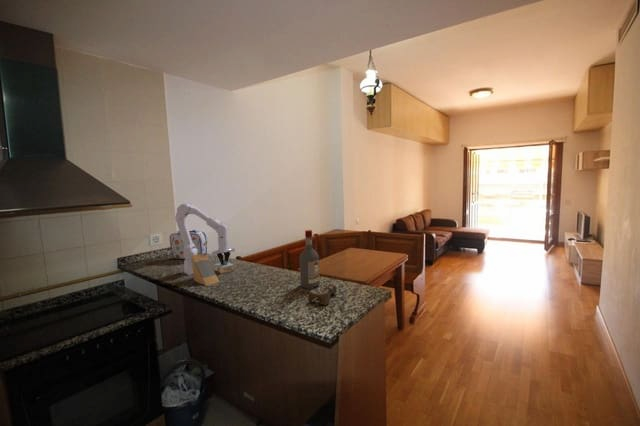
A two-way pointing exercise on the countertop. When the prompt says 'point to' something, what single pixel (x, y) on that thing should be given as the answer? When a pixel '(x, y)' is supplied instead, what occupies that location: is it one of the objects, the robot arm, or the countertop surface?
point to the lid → (224, 265)
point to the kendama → (322, 295)
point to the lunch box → (177, 244)
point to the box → (224, 269)
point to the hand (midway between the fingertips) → (224, 264)
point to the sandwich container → (203, 270)
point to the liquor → (309, 264)
